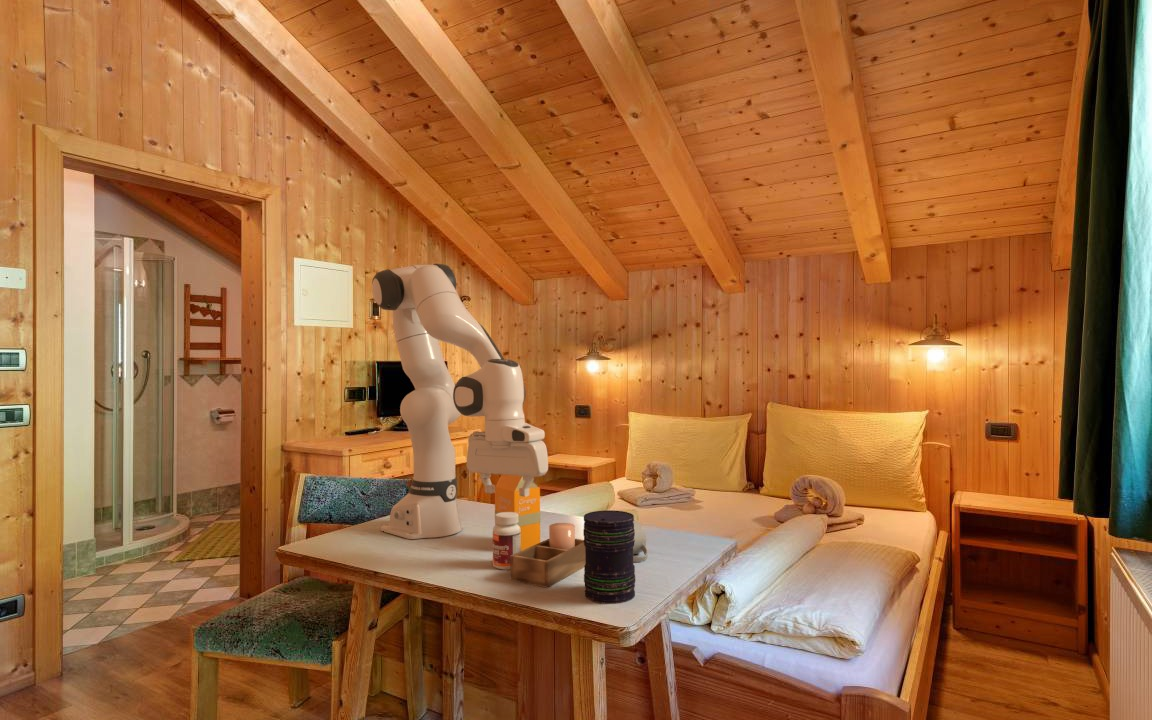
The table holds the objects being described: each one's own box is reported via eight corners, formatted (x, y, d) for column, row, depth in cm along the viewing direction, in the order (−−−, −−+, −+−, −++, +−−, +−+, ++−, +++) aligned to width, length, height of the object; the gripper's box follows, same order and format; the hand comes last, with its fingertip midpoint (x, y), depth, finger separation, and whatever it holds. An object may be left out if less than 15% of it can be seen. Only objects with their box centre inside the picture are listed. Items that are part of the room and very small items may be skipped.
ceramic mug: (599, 555, 144) (599, 522, 144) (624, 548, 150) (624, 516, 150) (630, 566, 136) (630, 531, 136) (656, 559, 141) (656, 525, 141)
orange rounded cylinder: (544, 564, 136) (544, 527, 136) (558, 557, 140) (557, 521, 141) (566, 567, 133) (566, 530, 133) (579, 560, 138) (579, 524, 138)
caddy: (510, 580, 128) (510, 555, 128) (555, 557, 143) (555, 535, 143) (548, 587, 123) (547, 562, 123) (590, 563, 138) (590, 540, 138)
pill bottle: (487, 568, 136) (487, 516, 136) (501, 560, 141) (501, 510, 142) (512, 571, 133) (511, 518, 133) (525, 563, 139) (525, 512, 139)
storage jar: (595, 583, 125) (594, 508, 126) (641, 589, 122) (640, 512, 122) (576, 600, 116) (575, 519, 116) (626, 607, 112) (625, 524, 113)
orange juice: (514, 553, 147) (513, 468, 147) (494, 545, 154) (493, 464, 154) (541, 546, 152) (540, 464, 152) (520, 539, 159) (520, 461, 159)
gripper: (459, 432, 140) (461, 493, 140) (534, 434, 130) (536, 500, 130) (477, 429, 146) (479, 489, 145) (551, 431, 135) (553, 495, 135)
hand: (506, 494), depth 137 cm, fingers open, 8 cm apart
